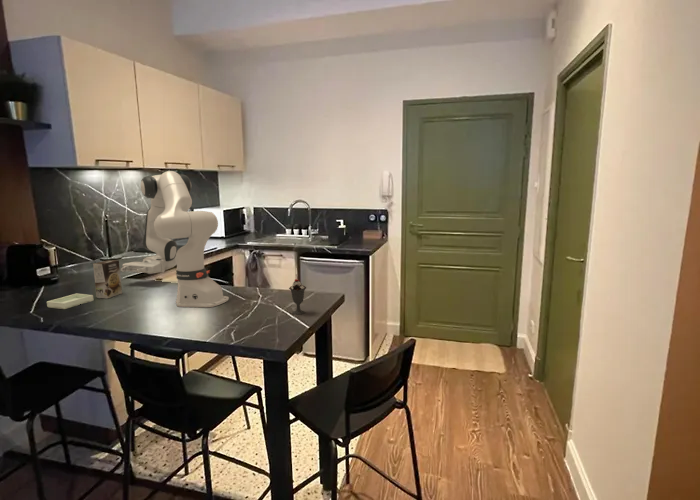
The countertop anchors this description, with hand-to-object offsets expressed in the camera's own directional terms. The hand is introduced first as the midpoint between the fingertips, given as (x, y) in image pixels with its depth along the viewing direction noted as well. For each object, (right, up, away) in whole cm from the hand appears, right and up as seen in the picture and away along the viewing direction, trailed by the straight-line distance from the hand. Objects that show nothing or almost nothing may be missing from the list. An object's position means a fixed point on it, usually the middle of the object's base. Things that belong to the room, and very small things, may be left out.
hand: (129, 270), depth 201 cm
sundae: (+88, -15, -39) cm, 97 cm away
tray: (-13, -13, -22) cm, 29 cm away
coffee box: (-4, -11, -10) cm, 15 cm away
